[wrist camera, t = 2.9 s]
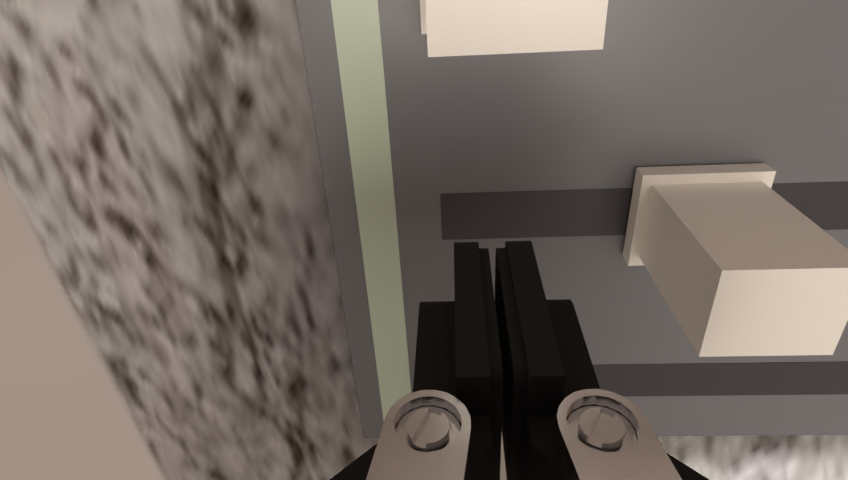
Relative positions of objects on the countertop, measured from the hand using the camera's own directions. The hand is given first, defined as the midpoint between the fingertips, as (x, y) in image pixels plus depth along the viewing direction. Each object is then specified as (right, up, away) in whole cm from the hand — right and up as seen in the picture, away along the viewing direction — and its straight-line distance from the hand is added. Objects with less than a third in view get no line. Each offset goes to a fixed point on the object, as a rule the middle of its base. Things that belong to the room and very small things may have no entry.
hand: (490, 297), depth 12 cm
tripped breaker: (+7, +2, +4) cm, 8 cm away
